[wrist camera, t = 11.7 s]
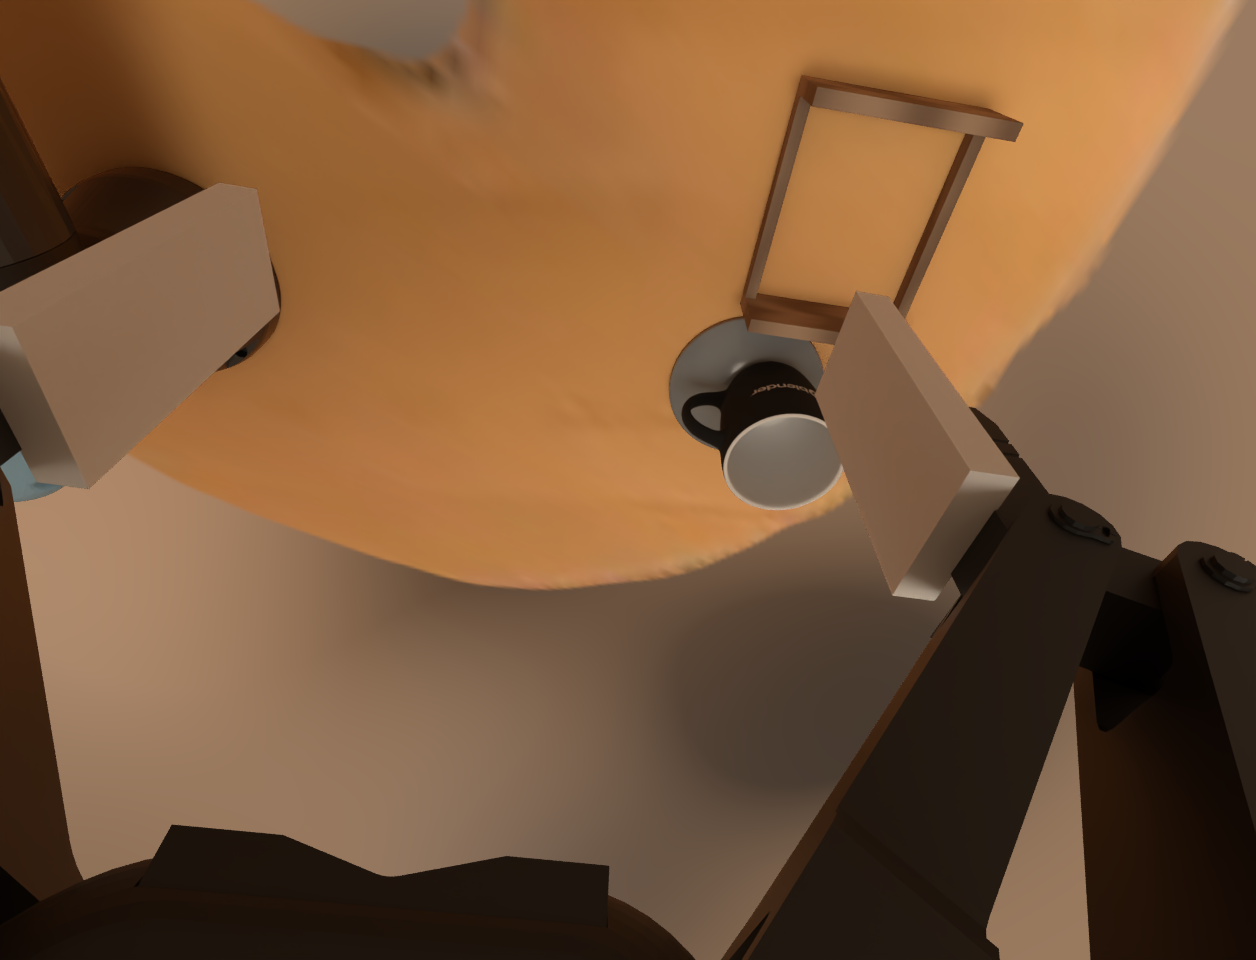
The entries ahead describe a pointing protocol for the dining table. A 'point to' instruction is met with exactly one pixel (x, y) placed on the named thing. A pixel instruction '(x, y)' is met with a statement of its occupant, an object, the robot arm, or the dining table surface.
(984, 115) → the frame
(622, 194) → the dining table surface
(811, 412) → the mug
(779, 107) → the dining table surface
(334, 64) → the dining table surface
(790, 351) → the coaster
